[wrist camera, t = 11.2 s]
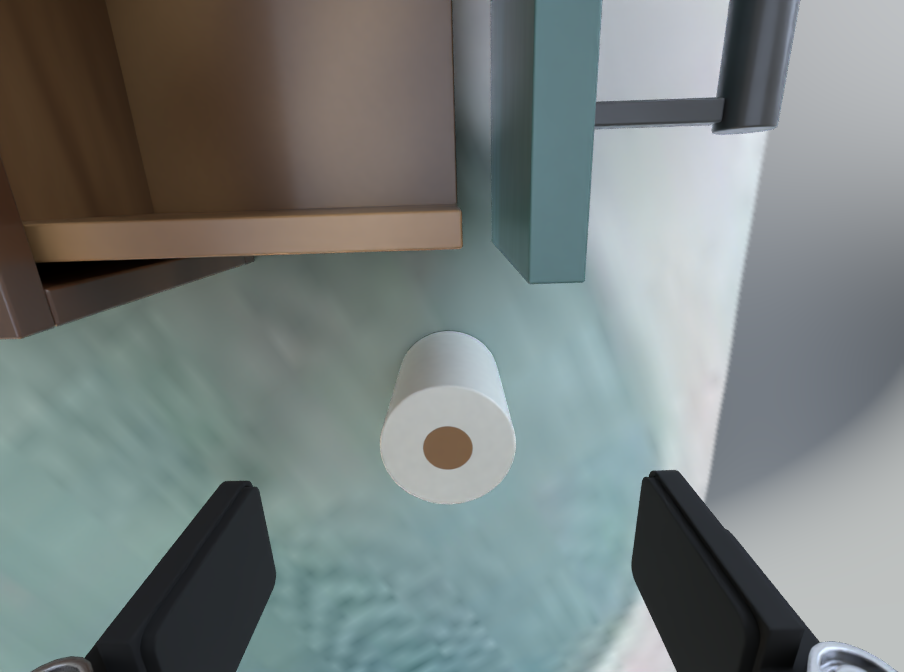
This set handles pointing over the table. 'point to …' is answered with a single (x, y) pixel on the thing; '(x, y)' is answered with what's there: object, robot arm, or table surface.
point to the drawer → (325, 124)
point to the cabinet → (78, 278)
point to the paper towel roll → (448, 421)
